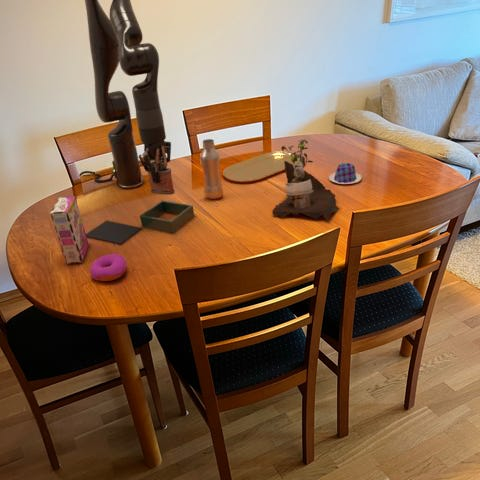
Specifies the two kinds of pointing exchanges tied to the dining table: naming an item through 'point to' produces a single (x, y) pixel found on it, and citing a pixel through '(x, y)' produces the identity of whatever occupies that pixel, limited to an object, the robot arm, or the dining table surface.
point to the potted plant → (304, 190)
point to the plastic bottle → (211, 170)
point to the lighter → (162, 180)
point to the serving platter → (258, 167)
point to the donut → (108, 267)
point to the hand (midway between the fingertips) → (160, 180)
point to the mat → (113, 232)
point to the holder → (172, 226)
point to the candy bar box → (70, 229)
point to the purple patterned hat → (345, 174)
